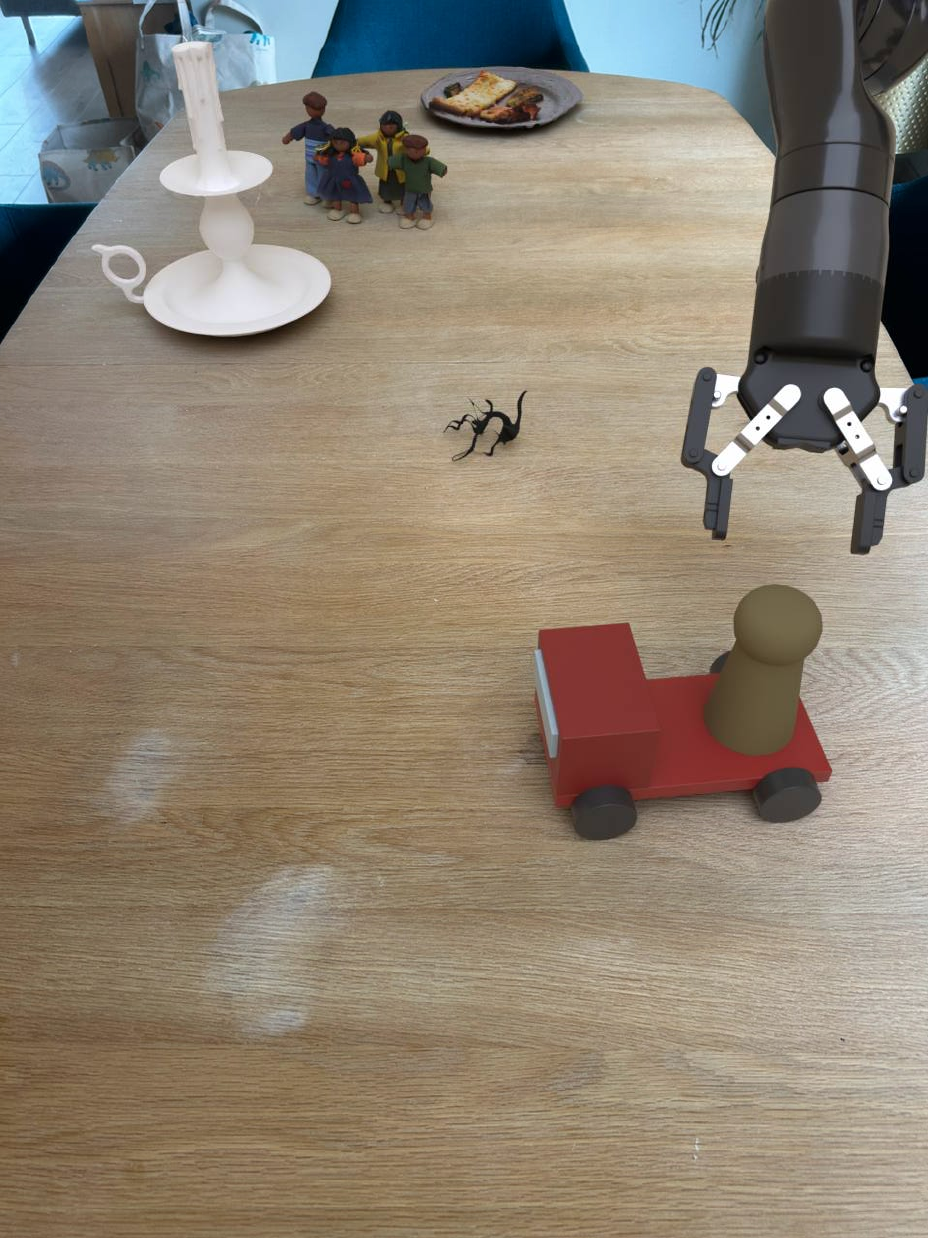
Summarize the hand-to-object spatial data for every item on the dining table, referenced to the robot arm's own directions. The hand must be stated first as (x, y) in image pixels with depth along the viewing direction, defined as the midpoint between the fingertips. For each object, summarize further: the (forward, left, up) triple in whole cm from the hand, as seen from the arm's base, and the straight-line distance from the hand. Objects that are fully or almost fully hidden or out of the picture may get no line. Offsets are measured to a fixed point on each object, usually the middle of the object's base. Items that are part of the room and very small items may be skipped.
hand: (788, 546), depth 62 cm
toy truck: (+6, +5, -15) cm, 17 cm away
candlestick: (+41, -61, -15) cm, 76 cm away
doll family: (+24, -86, -15) cm, 91 cm away
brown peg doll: (+2, +4, -12) cm, 13 cm away
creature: (+15, -33, -15) cm, 40 cm away
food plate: (+2, -120, -15) cm, 121 cm away
